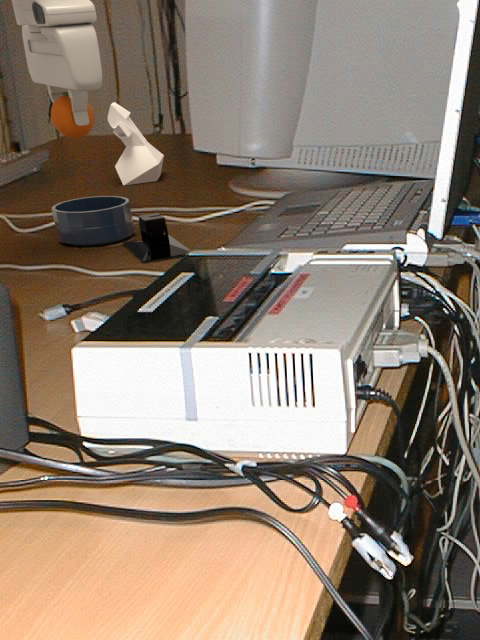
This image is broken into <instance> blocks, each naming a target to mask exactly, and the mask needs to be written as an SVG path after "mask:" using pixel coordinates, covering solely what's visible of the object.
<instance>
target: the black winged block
mask: <svg viewBox="0 0 480 640" xmlns="http://www.w3.org/2000/svg"><path fill="white" fill-rule="evenodd" d="M137 217H138V225H139V231H140V236H141V238H139V239H134V240H128V241H126V240H125V241H122V245H123V246H124V247H125V248H126V249H127V250H128V251H129V252H130V253H132V254H133V256H135V257H136V259H137V261H138V262H139V263H141V264H147V263H153V262H160V261H165V259H166V260H171V258H172V259H177V257H178V258H182V256H183V255H185V254H186V253H187V252H189V251H192V250H191V249H190V248H188V247H186V246H185V245H184V244H183V243H181V242H180V241H178V240H177V239H175V238H174V236H172V235H170V234H169V231H168V225H167V222H166V217H165V216H164V215H161V214H160V213H159V212H155V213H148V214H142V215H138V216H137ZM179 256H180V257H179ZM159 260H160V261H159Z"/></svg>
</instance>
